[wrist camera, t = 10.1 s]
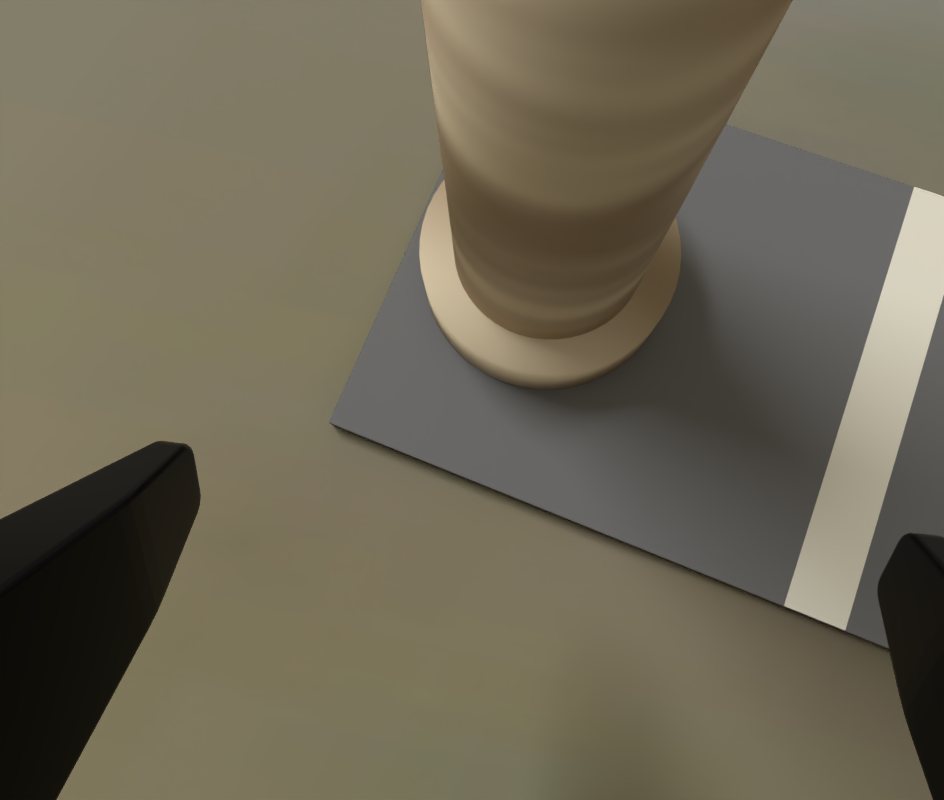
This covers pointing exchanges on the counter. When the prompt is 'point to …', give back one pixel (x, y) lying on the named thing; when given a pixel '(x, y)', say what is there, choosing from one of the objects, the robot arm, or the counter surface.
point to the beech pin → (572, 169)
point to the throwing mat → (721, 390)
